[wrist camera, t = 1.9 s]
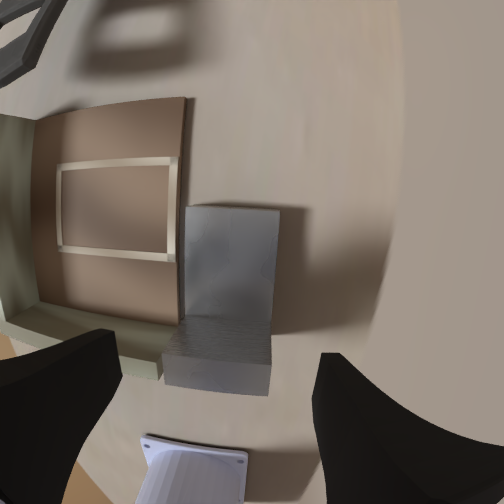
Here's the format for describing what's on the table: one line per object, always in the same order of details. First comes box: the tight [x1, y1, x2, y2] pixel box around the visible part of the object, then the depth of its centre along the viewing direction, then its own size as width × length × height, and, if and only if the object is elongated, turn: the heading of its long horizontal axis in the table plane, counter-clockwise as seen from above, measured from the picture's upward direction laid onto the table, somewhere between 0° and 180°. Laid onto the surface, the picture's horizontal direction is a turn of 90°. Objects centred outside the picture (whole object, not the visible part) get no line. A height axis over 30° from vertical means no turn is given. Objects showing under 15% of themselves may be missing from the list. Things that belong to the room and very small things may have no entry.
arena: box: [0, 97, 187, 381], centre depth 12 cm, size 12×11×4 cm
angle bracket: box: [162, 205, 280, 396], centre depth 12 cm, size 6×4×5 cm, turn 177°
